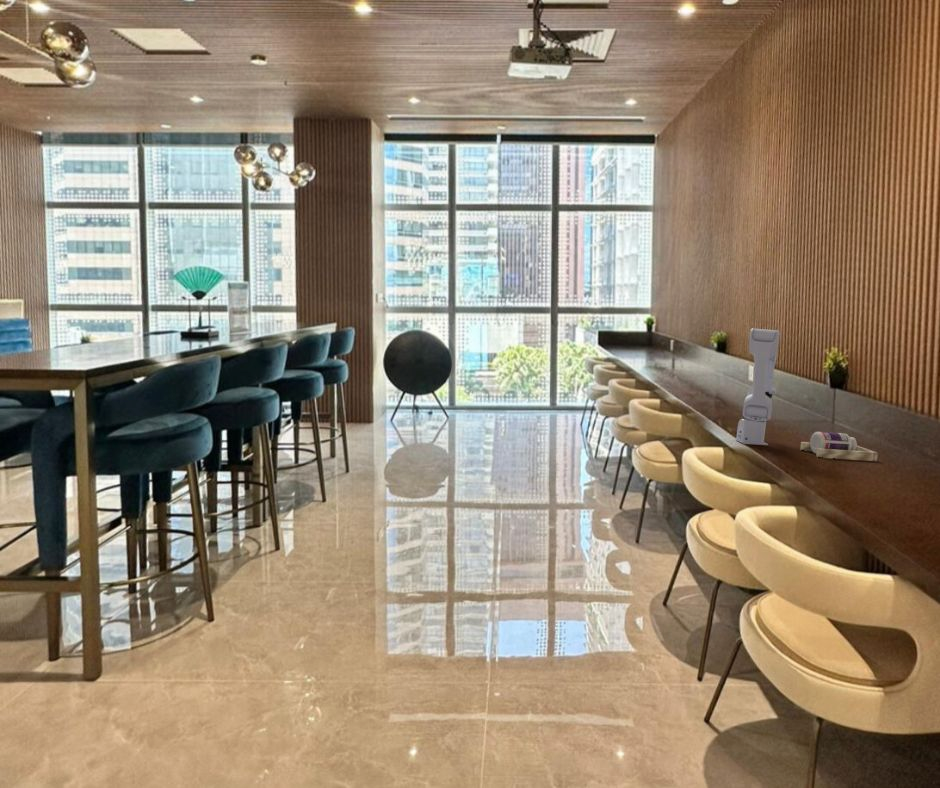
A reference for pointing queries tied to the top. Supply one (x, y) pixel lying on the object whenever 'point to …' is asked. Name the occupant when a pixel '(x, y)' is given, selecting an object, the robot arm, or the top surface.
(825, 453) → the cradle
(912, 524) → the top surface
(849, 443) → the pill bottle
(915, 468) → the top surface
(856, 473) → the top surface
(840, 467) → the top surface
